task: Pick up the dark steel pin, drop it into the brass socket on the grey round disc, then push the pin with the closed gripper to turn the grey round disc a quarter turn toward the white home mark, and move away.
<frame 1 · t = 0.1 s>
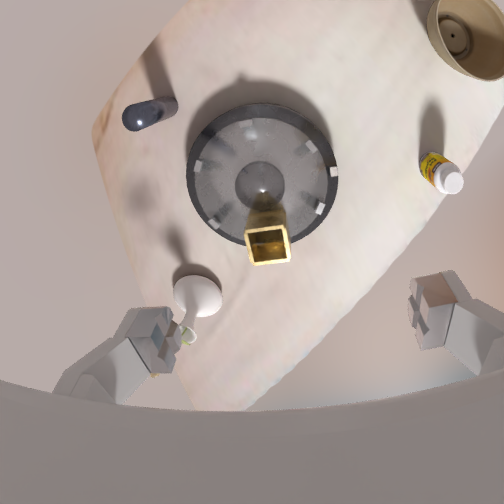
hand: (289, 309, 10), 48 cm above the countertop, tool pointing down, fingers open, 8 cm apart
planter bowl: (449, 36, 39), on the countertop
pin: (167, 107, 52), on the countertop
grey round disc: (259, 190, 50), point 8 cm above the countertop, hinge at 0.0°
supplement bottle: (430, 164, 52), on the countertop
housing: (262, 174, 57), on the countertop
flower in vase: (196, 291, 72), on the countertop
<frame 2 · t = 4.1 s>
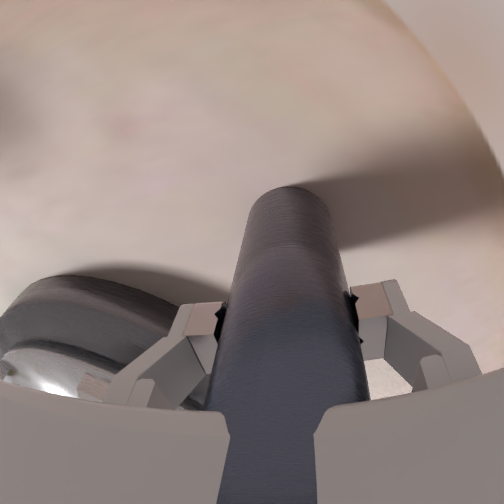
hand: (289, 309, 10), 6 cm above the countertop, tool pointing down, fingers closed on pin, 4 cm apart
pin: (289, 225, 16), on the countertop, touching gripper
grey round disc: (99, 467, 19), point 8 cm above the countertop, hinge at 0.0°
housing: (130, 393, 25), on the countertop
when the fingers open (13 cm above the countertop, at t = 10.6 s): pin drops 1 cm, resting on grey round disc.
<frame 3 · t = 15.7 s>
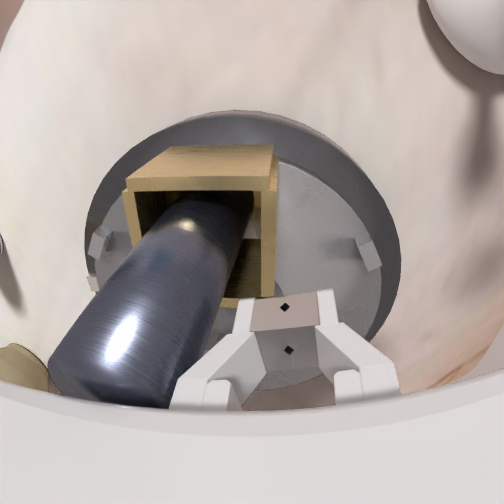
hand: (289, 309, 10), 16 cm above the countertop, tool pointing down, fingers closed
planter bowl: (28, 360, 44), on the countertop
pin: (221, 199, 19), point 6 cm above the countertop, touching gripper, grey round disc
grey round disc: (224, 323, 21), point 8 cm above the countertop, hinge at -0.1°, touching pin
housing: (240, 262, 28), on the countertop
flower in vase: (482, 13, 14), on the countertop
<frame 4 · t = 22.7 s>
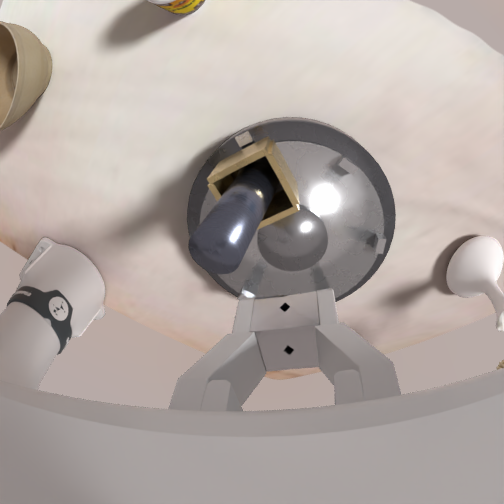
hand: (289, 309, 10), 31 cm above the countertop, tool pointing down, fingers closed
planter bowl: (32, 71, 33), on the countertop
pin: (264, 172, 33), point 6 cm above the countertop, tilted 14°, touching grey round disc
grey round disc: (291, 243, 35), point 8 cm above the countertop, hinge at 91.5°, touching pin
housing: (291, 215, 42), on the countertop
flower in vase: (470, 265, 43), on the countertop
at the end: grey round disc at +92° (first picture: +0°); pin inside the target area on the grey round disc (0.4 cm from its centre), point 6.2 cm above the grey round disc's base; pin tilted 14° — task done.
